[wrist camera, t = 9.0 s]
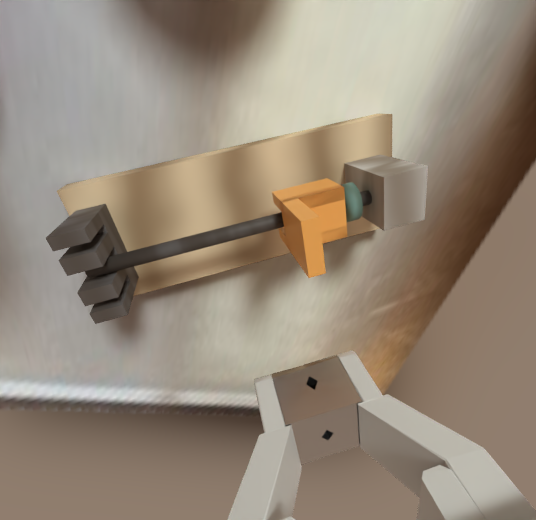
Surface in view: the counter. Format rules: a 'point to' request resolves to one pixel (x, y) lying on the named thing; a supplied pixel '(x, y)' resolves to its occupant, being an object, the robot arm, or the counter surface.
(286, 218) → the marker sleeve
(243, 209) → the cord board
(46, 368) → the counter surface
